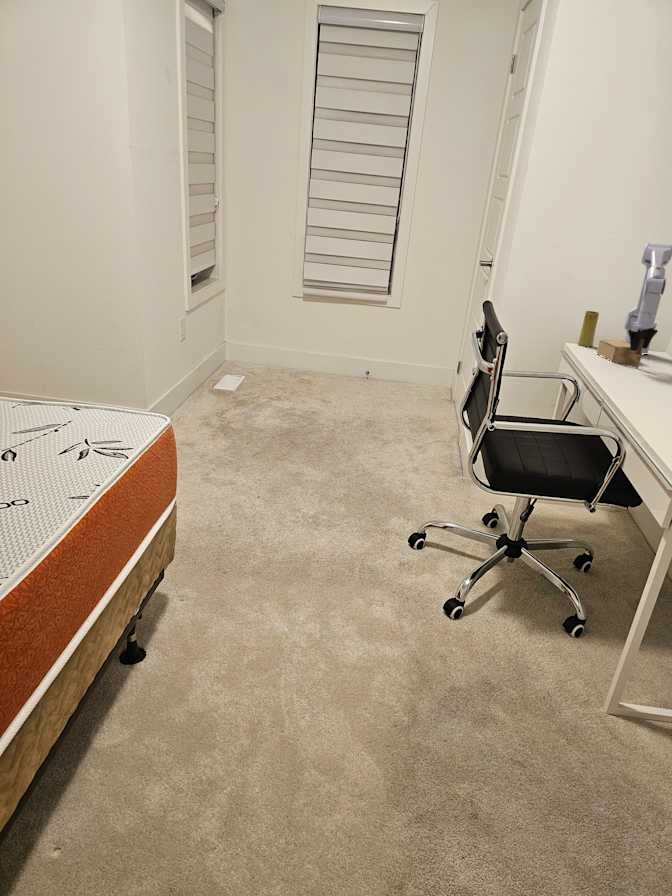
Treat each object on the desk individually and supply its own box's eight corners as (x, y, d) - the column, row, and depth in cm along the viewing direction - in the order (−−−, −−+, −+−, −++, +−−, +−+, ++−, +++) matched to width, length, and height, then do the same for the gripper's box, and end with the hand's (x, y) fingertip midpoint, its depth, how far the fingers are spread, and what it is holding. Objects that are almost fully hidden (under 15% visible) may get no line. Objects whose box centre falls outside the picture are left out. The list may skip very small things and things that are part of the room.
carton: (618, 355, 248) (622, 340, 246) (635, 362, 238) (638, 347, 236) (596, 354, 247) (599, 340, 244) (611, 361, 237) (615, 346, 234)
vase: (595, 347, 260) (603, 313, 254) (583, 347, 258) (591, 313, 253) (586, 343, 265) (593, 310, 260) (574, 343, 264) (581, 310, 258)
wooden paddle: (638, 367, 229) (645, 339, 225) (635, 368, 228) (643, 340, 224) (613, 361, 236) (619, 334, 232) (610, 362, 235) (617, 334, 231)
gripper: (647, 309, 228) (637, 344, 233) (627, 311, 220) (618, 348, 225) (665, 312, 223) (656, 348, 228) (646, 315, 215) (636, 352, 220)
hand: (638, 349), depth 226 cm, fingers open, 7 cm apart
